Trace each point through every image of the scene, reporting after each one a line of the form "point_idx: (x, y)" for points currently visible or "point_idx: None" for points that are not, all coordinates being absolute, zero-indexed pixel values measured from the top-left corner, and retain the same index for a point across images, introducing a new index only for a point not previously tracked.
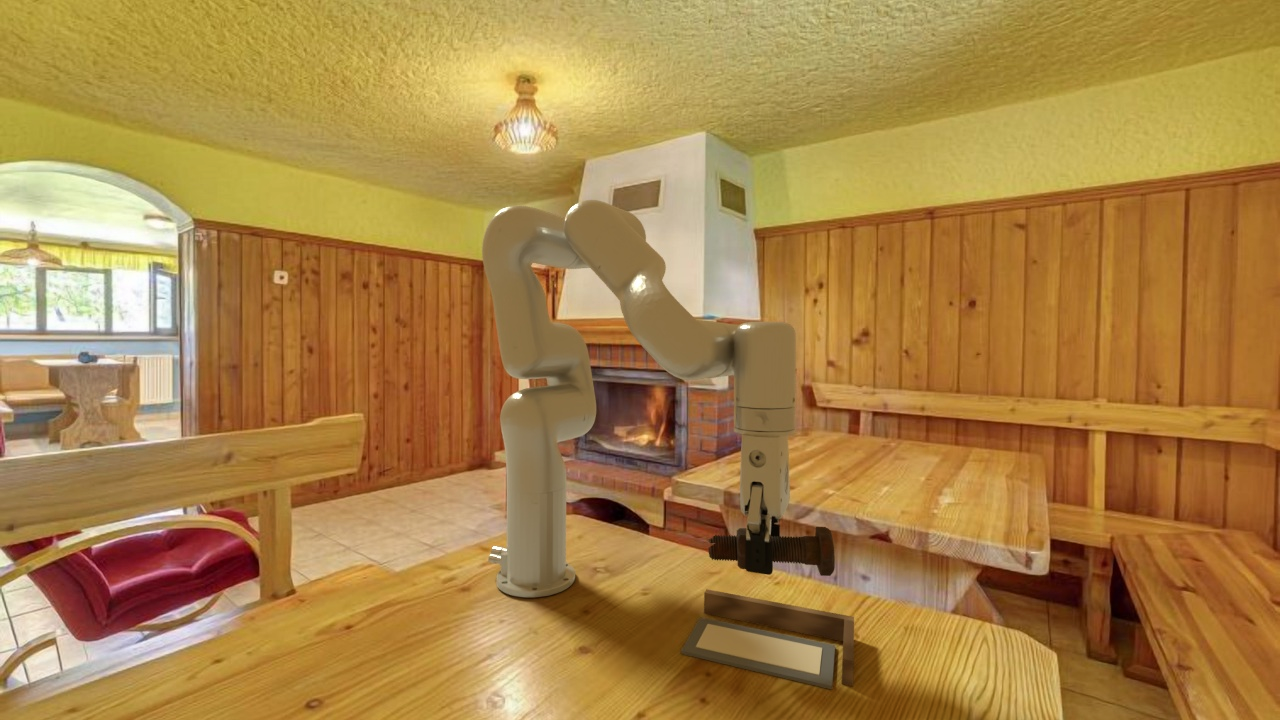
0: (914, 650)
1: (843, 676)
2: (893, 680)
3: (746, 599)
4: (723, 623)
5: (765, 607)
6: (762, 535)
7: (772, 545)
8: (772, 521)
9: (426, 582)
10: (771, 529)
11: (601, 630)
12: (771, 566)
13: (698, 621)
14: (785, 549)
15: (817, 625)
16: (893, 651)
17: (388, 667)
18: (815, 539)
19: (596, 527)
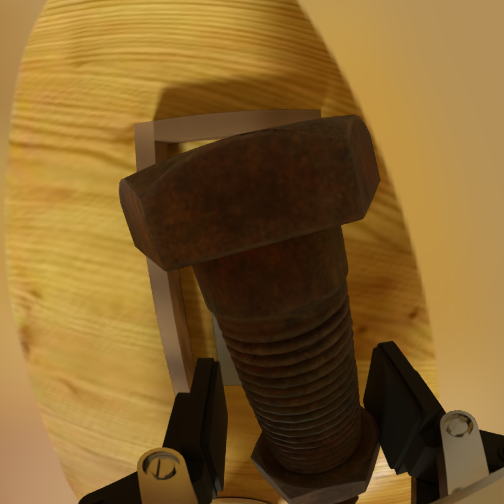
0: (146, 39)
1: None
2: (258, 59)
3: (174, 342)
4: (222, 352)
5: (173, 303)
6: (501, 436)
7: (432, 400)
8: (201, 476)
9: None
10: (215, 450)
11: None
12: (401, 354)
13: (236, 384)
14: (352, 356)
15: None
16: (163, 64)
17: (401, 494)
18: (298, 242)
19: (83, 495)
